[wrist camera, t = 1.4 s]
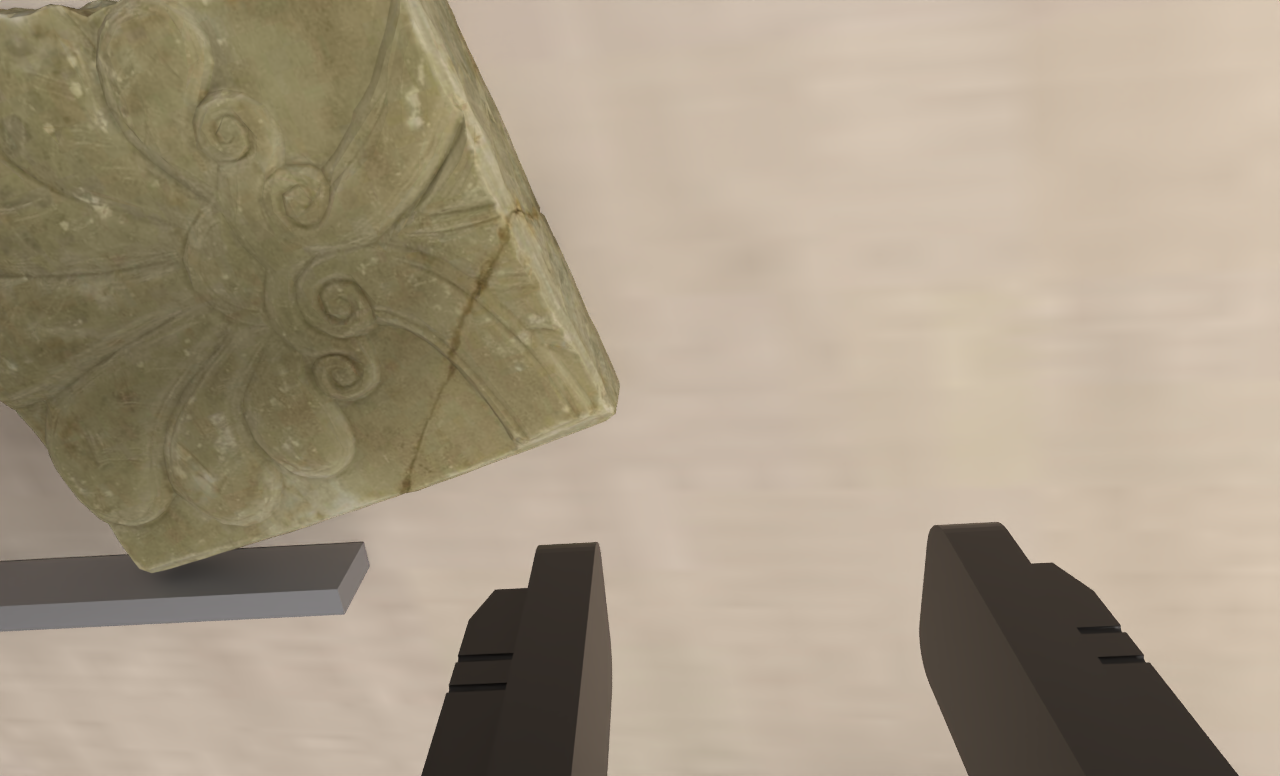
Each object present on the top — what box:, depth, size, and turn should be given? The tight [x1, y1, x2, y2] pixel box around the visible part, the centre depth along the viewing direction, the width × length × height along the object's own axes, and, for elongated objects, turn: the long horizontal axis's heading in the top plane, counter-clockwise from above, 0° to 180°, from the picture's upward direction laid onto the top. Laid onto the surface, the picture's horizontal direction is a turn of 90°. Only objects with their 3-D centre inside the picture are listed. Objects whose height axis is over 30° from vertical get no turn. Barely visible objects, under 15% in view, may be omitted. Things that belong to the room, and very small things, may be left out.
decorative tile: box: [0, 0, 620, 573], centre depth 27 cm, size 19×20×4 cm
